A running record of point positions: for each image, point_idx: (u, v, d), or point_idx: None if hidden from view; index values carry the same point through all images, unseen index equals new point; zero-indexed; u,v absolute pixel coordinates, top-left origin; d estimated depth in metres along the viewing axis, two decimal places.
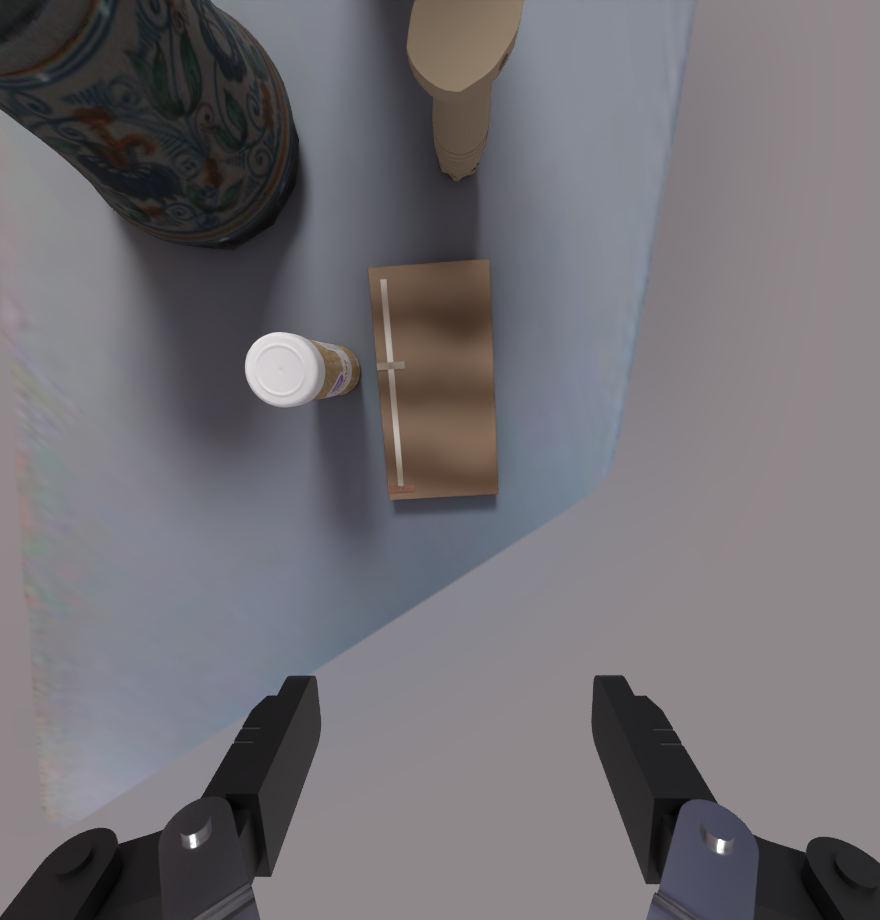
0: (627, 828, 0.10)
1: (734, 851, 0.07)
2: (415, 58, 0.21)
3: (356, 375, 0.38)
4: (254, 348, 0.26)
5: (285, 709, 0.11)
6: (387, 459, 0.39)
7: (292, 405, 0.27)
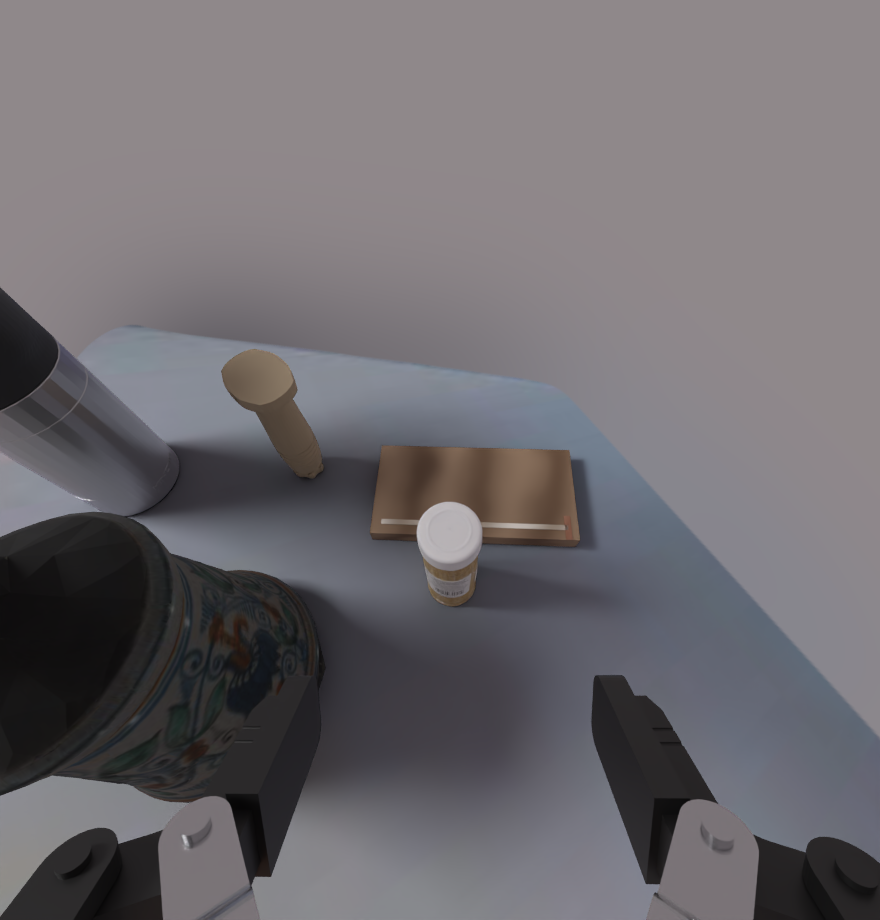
0: (627, 828, 0.10)
1: (734, 851, 0.07)
2: (267, 401, 0.34)
3: None
4: (427, 548, 0.29)
5: (285, 709, 0.11)
6: (539, 537, 0.41)
7: (481, 526, 0.30)
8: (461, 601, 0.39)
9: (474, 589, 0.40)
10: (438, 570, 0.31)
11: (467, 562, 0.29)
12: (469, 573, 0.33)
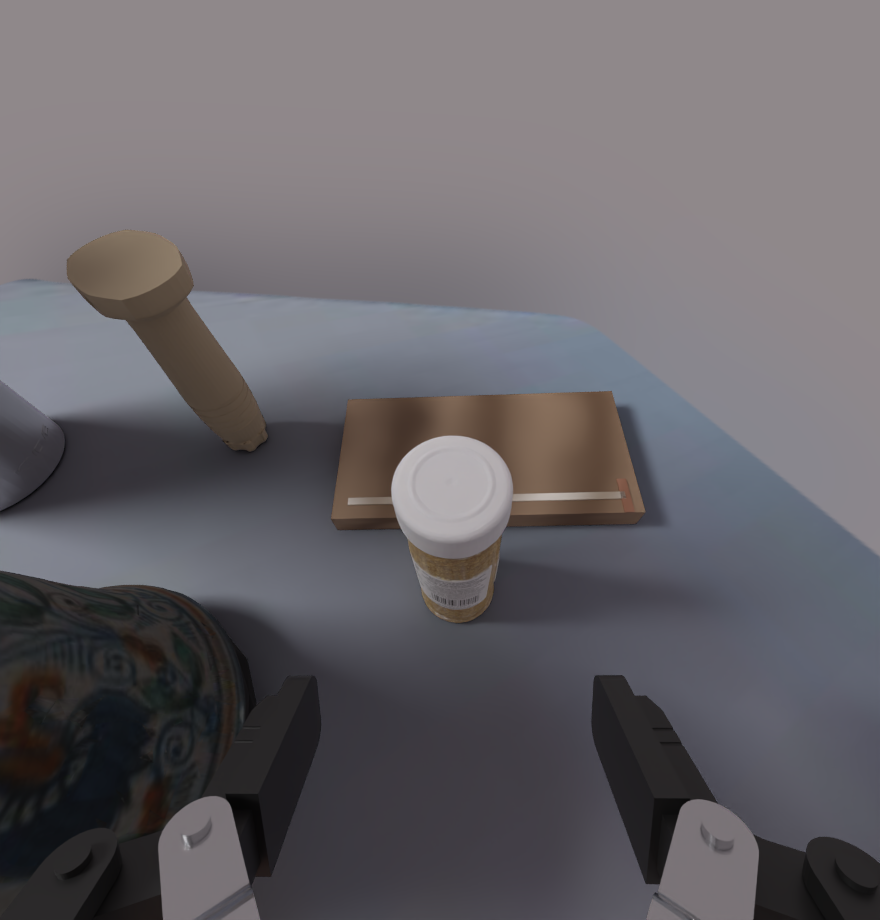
0: (627, 828, 0.10)
1: (734, 851, 0.07)
2: (134, 294, 0.20)
3: None
4: (412, 517, 0.15)
5: (285, 709, 0.11)
6: (583, 511, 0.28)
7: (509, 473, 0.16)
8: (474, 614, 0.25)
9: (492, 595, 0.26)
10: (435, 560, 0.17)
11: (488, 540, 0.16)
12: (489, 565, 0.19)
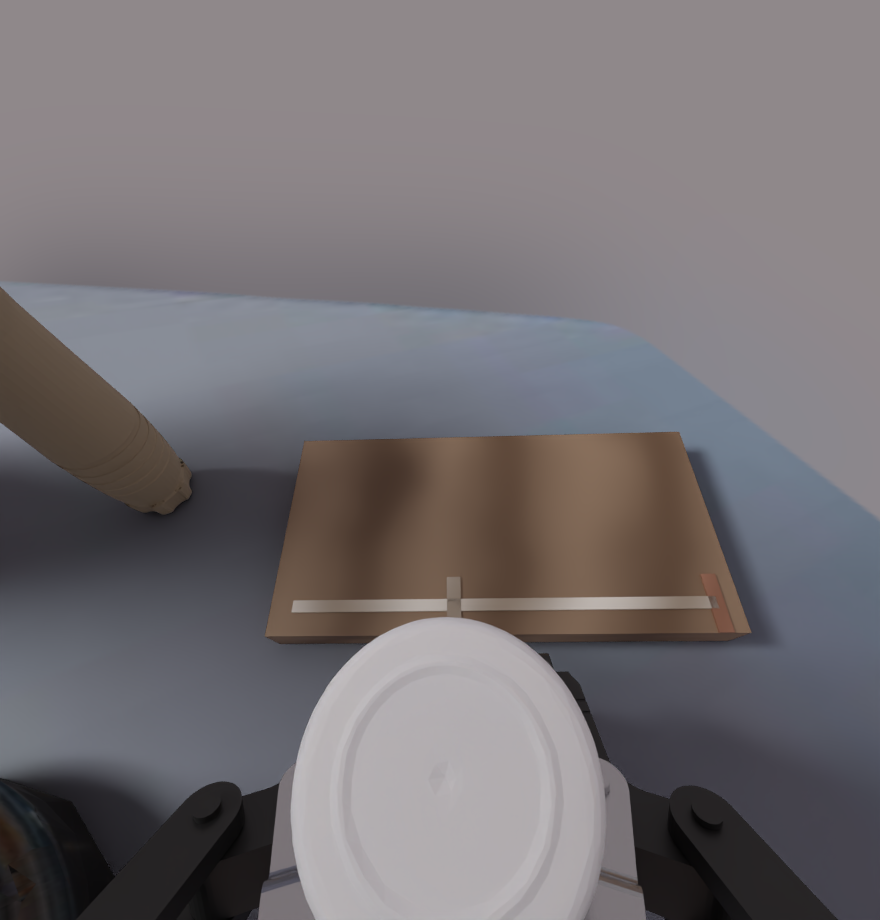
0: None
1: (607, 797, 0.08)
2: None
3: None
4: (335, 914, 0.05)
5: None
6: (654, 629, 0.18)
7: (592, 744, 0.06)
8: None
9: None
10: None
11: None
12: None
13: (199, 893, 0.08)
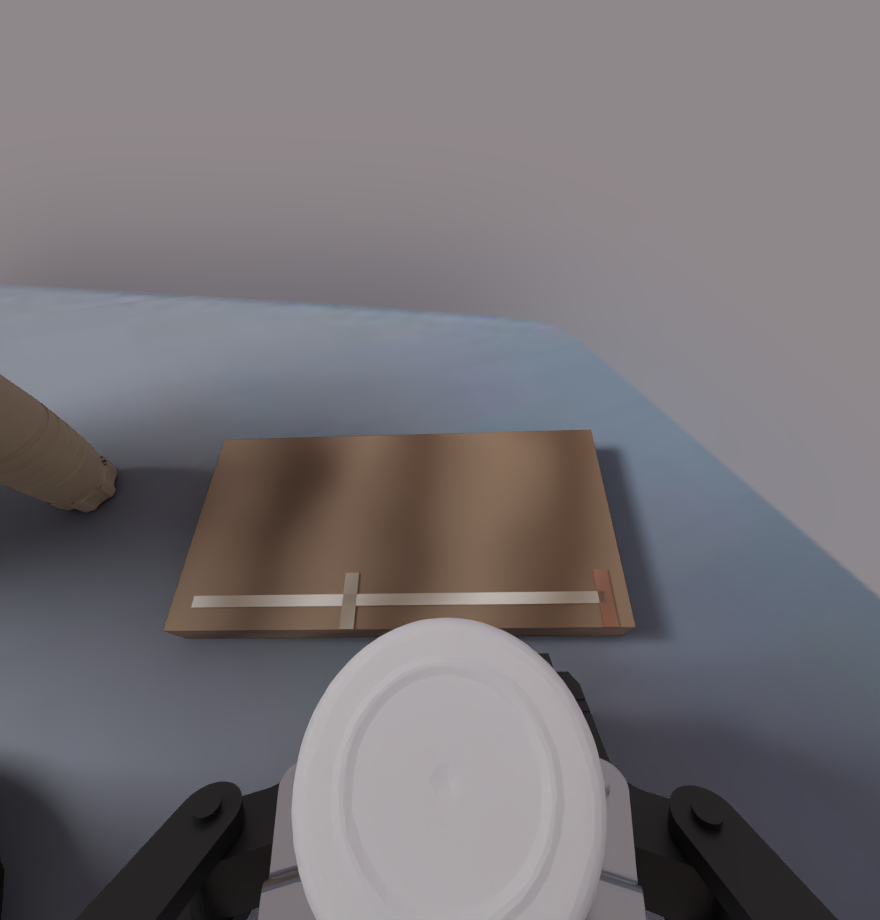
0: None
1: (607, 797, 0.08)
2: None
3: None
4: (335, 914, 0.05)
5: None
6: (541, 623, 0.18)
7: (593, 745, 0.06)
8: None
9: None
10: None
11: None
12: None
13: (199, 893, 0.08)
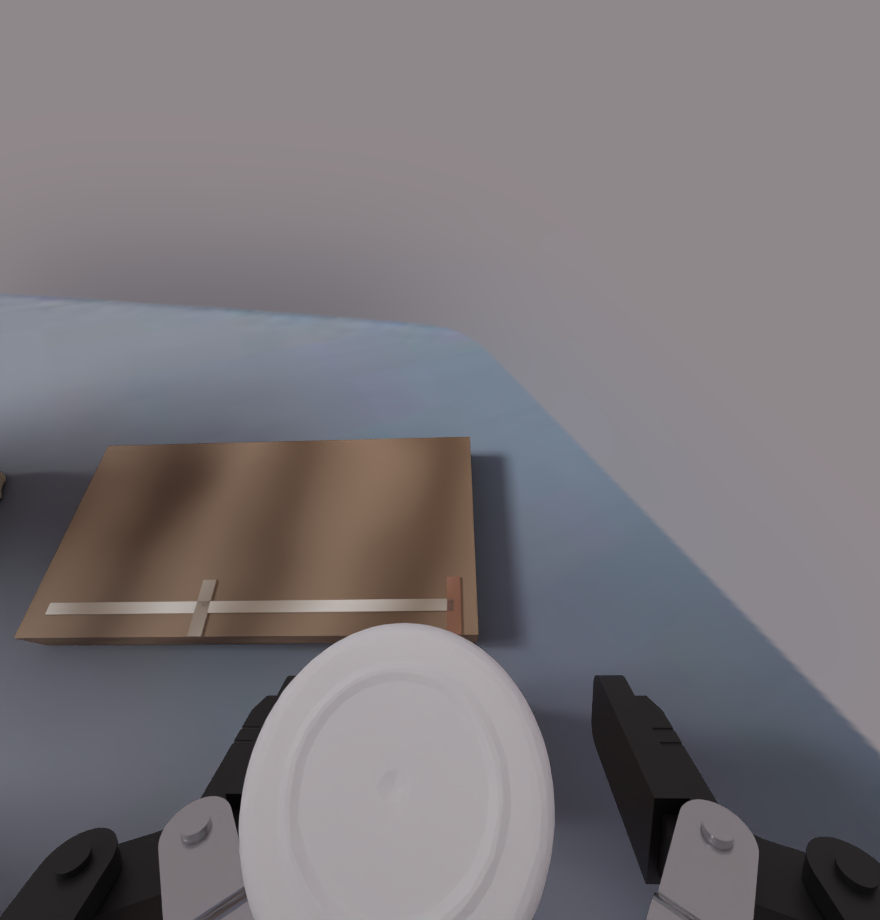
0: (627, 828, 0.10)
1: (734, 851, 0.07)
2: None
3: None
4: None
5: None
6: None
7: (543, 751, 0.06)
8: None
9: None
10: None
11: None
12: None
13: None
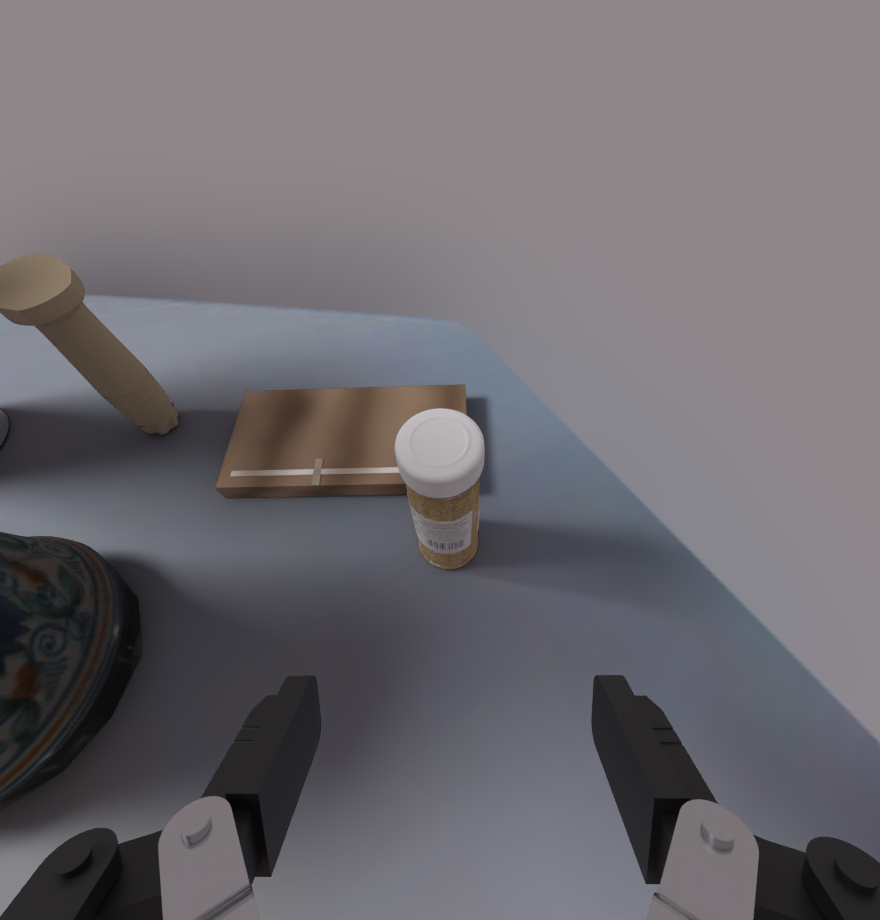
0: (627, 828, 0.10)
1: (734, 851, 0.07)
2: (29, 306, 0.26)
3: None
4: (410, 465, 0.21)
5: (285, 709, 0.11)
6: None
7: (481, 435, 0.22)
8: (461, 562, 0.31)
9: None
10: (427, 502, 0.23)
11: (466, 483, 0.21)
12: (469, 510, 0.25)
13: None
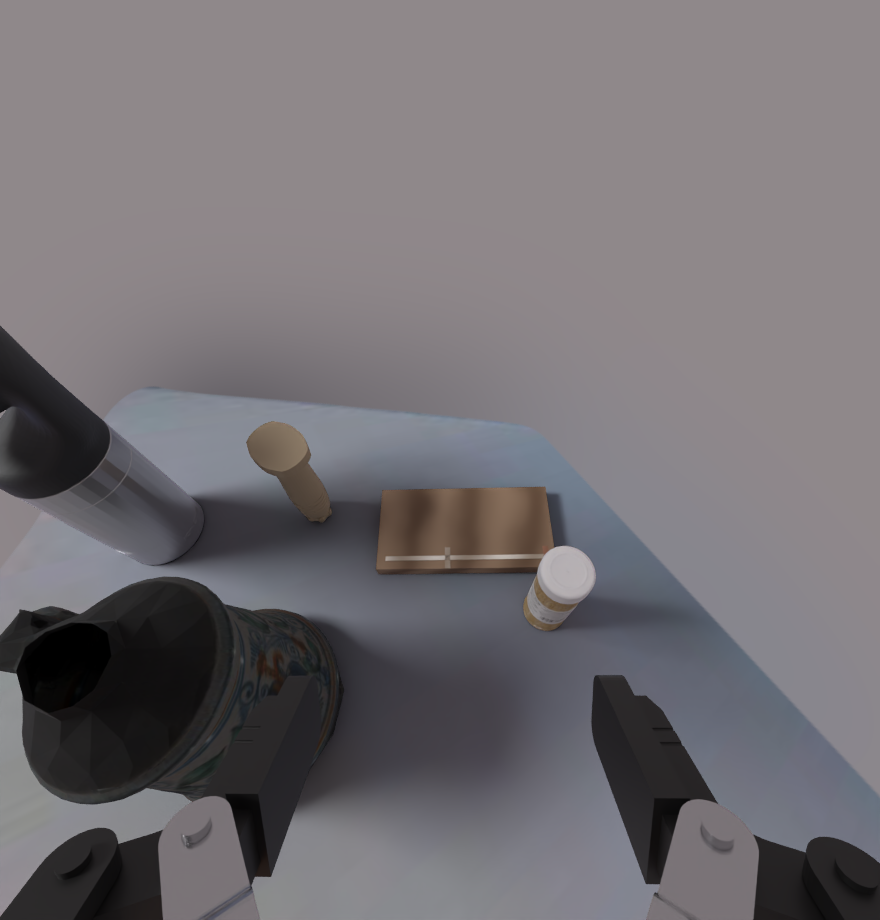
0: (627, 828, 0.10)
1: (734, 851, 0.07)
2: (287, 467, 0.40)
3: None
4: (553, 587, 0.35)
5: (285, 709, 0.11)
6: (521, 565, 0.48)
7: (593, 566, 0.36)
8: (556, 626, 0.45)
9: None
10: (556, 603, 0.37)
11: (585, 596, 0.35)
12: (577, 604, 0.39)
13: None
